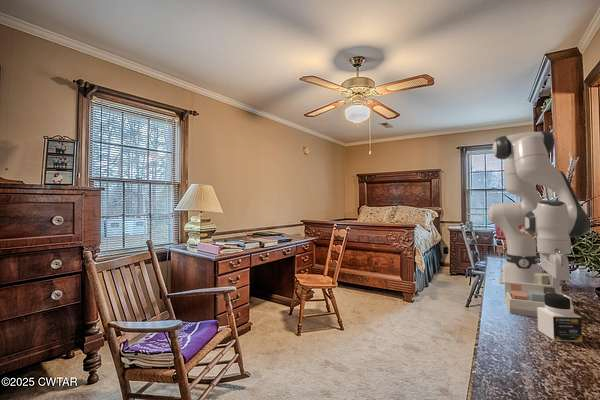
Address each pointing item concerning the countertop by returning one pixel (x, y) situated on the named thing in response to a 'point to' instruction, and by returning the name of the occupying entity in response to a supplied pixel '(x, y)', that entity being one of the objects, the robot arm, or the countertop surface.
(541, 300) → the slate key
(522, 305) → the cream open box
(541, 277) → the skincare box
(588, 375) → the countertop surface
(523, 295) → the terracotta key
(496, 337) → the countertop surface
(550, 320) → the medicine bottle
